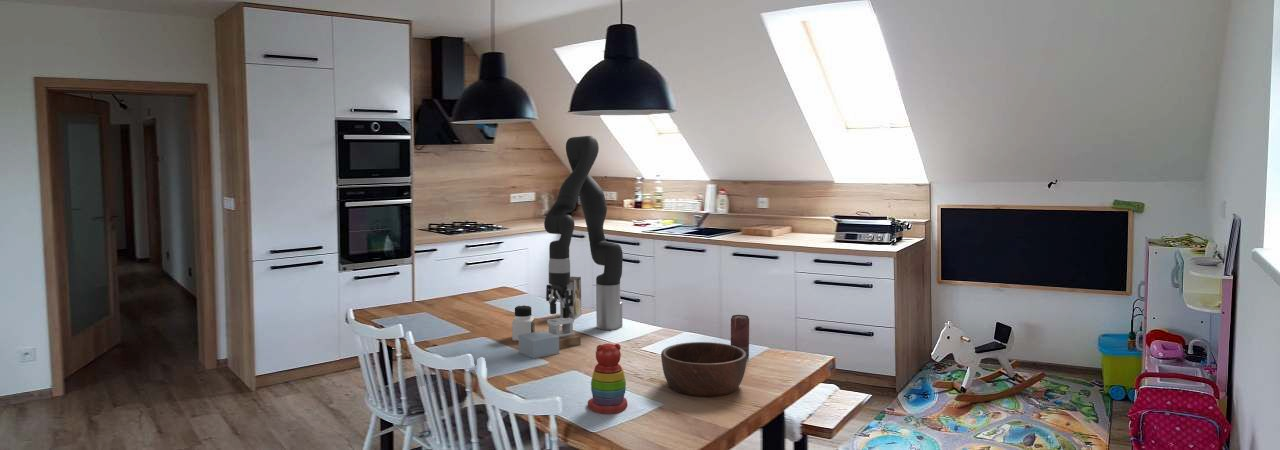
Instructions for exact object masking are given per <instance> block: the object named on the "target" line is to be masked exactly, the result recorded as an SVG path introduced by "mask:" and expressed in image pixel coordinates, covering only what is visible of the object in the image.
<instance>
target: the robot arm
mask: <svg viewBox="0 0 1280 450" xmlns="http://www.w3.org/2000/svg"><path fill="white" fill-rule="evenodd" d="M565 151H566V152H565V153H566V156H567V160H568V163H569V165H570V168H571V171H572V172H571V173H570V174H569V175H568V176H567V178H566V179H565V180H564V181H563V183H562V184H561V186H560V188H559V192H558V194H557V198H556V200H555V202H554V204H553V205H552V207H551V209H550V210H549V211H548V213H547V214H546V217H544V223H543V226H544V230H545V231H546V232H547V233H548V234H551V235H560V237H559V239H558V240H552V241H551V242H550V243H549V247H548V248H549V253H548V254H549V259H548V284H546V285H545V287H546V289H545V290H546V291H545V293H546V295H545V300H546V302H548V304H549V314H550V315H556V314H557V302H558V300H559V303H560V302H561V303H562V306H563V318H569V307H571V306H573V290H572V289H567V285H568V284H569V283H570V277H571V260H570V245H571V241H572V236H573V233H574V232H575V231H574V230H575V220H574V218H573V216H571V215H570V214H567V213H572V212H573V211H574V210H575V208H576V206H577V202H578V199H579V201H580V205H581V208H582V213H583V217H584V221H585V225H586V229H587V233H588V234H587V235H588V240H589V248H590V254H591V258H592V260H593V262H594V263H595V264H596V265H599V266H603V273H602V274H599V275H597V276H596V278H595V288H596V289H595V290H596V291H595V295H596V304H595V306H596V307H595V308H596V309H595V310H596V313H595V314H596V329H598V330H604V331H605V330H606V331H608V330H609V331H612V330H617V329H620V328H622V327H623V302H621V278H622V275H623V259H624V257H623V249H622V246H621V245H620V244H618V243H617V242H612V241H611V242H610V241H607V239H606V237H605V231H604V225H605V224H604V223H605V220H606V217H607V212H608V206H607V202H606V197H605V194H604V193H605V192H604V191H603V189H602V187H601V186H600V185H599V183H597V181H596V180H595V179H594V178H593V177H592V175H590V171H591V169H592V168H593V165H594V164H595V161H596V159H597V158H598V154H599V143H598V140H597V138H596V137H594V136H592V135H580V136H573V137H572V136H571V137H569V138H568V139H567V140H566V143H565ZM569 300H570V303H569Z"/></svg>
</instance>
